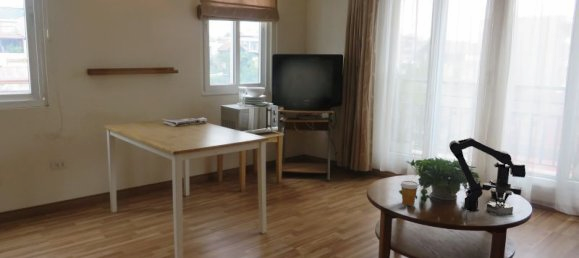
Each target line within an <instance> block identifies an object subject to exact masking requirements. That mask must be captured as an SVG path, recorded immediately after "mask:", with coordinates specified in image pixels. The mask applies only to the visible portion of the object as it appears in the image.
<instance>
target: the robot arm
mask: <svg viewBox="0 0 579 258" xmlns="http://www.w3.org/2000/svg"><path fill="white" fill-rule="evenodd" d="M448 147H449V150H450V152H451V153H452V154H453V156H454V157H455V158H456V160H457V162H458V164H459V166H460V168H461V170H462V172H463V174H464V176H465V178H466V180H467V184H468V187H469V189H467V190H466V191H465V195H466V197H465V198H464V204H463V206H462V207H461V208H462V209H464V210H466V211H468V212H476V211H480V209H479V198H480V197H482V196H483V191H487V192H488V191H490V193H491V192H492V193H493V195H494V197H495V199H494V202H496V204H497V202H498V201H497V192H501V193H504V197H503V199H504V201H503V202H502V203H503V205H504V204H506V201H507V200H508V198H509V196H512V195H517V196H518V195H519V196H521V195H522V187H520V186H513V187H511V185H512V184H511V183H509V178H510V175H511V177H514V178H526V165H525V163H523V164H522V163H521V164H519V163H518V164H517V163H514V162H513V161H512V156H511V155H510V154H509V152H507V151H506V150H505V151H504V150H501V149H496V148H494V147H491V146H489V145H487V144H485V143H483V142H481V141H479V140H476V139H475V138H474V137H469V138H464V139H460V140H451V141H450V142H449V145H448ZM471 147H472V148H475V149H476V150H479V151H481V152H483V153H484V154H487V155H490V156H491V157H493V158H494V159H495V160H496V161H497V162H496V163H494V164H493V167H494V168H497V171H496V172H497V173H496V179H495V180H496V186H493V185H491V182H490V183H489V182H483V183H482V185H481V182H480V180H479V179H477V180H476V178H475V177H474V175H473V173H472V171H471V169H470V167H469V165H468V162H467V160H466V159H465V157H464V152H463V150H465V149H466V150H467V148H468V149H469V148H471ZM499 162H500V163H499Z"/></svg>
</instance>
